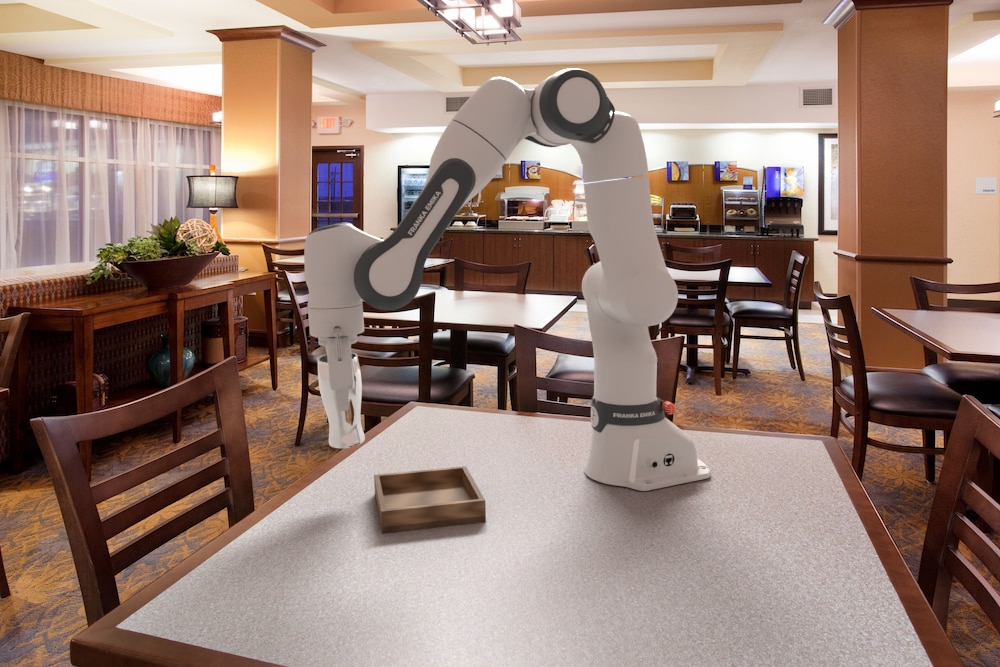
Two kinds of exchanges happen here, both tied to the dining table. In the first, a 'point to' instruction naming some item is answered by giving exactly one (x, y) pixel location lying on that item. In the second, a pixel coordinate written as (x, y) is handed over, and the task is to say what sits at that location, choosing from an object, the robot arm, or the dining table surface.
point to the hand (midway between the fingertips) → (342, 404)
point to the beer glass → (342, 423)
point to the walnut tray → (428, 499)
